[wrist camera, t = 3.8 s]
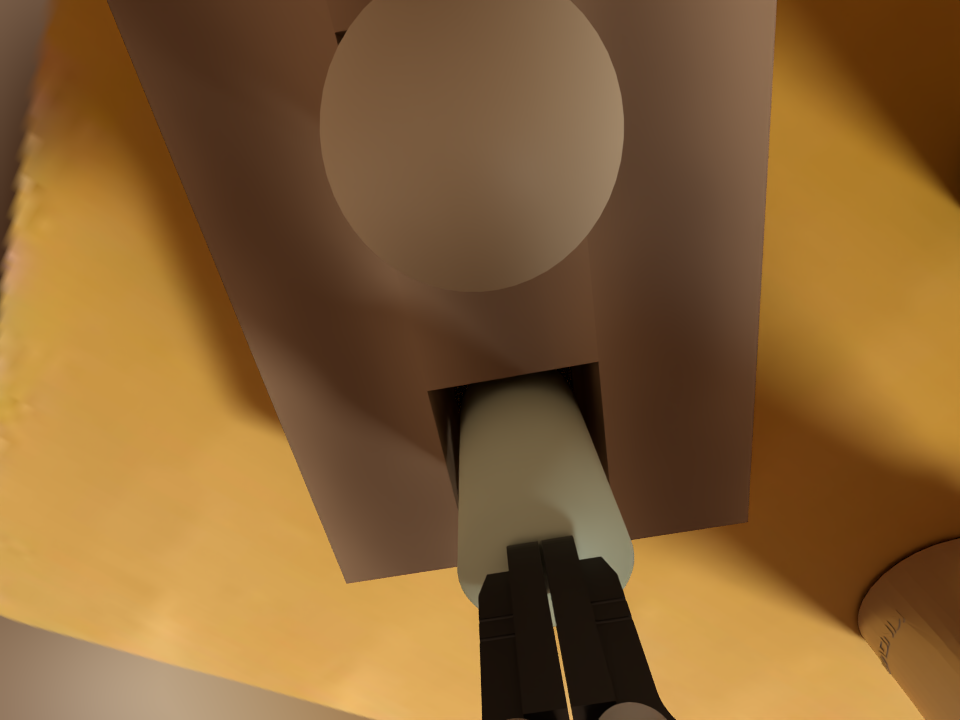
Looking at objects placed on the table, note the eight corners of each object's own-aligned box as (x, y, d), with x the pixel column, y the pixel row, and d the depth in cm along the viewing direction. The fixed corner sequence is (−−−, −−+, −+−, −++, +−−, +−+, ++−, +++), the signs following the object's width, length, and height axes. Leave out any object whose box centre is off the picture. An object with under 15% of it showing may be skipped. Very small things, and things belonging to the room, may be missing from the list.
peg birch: (537, 24, 12) (612, -75, 6) (557, 198, 14) (631, 265, 8) (370, 58, 12) (274, -1, 6) (410, 226, 14) (367, 313, 8)
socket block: (672, -83, 15) (787, -194, 10) (680, 425, 23) (747, 521, 17) (219, 16, 16) (92, -36, 11) (374, 476, 24) (346, 583, 18)
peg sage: (569, 349, 17) (629, 483, 11) (581, 449, 19) (638, 614, 12) (449, 370, 17) (440, 513, 11) (471, 467, 19) (475, 637, 13)
